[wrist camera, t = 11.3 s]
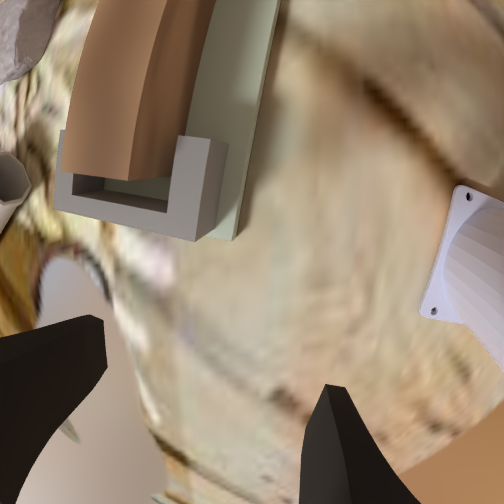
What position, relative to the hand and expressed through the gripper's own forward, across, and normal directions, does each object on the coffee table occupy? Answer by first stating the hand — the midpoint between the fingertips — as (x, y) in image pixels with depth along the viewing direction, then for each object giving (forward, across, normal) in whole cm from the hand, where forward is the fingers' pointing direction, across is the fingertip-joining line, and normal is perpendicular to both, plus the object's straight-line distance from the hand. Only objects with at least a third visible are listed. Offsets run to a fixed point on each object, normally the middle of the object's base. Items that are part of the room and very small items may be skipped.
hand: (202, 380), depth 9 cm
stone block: (+10, +26, -16) cm, 33 cm away
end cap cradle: (+9, +7, -16) cm, 20 cm away
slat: (+8, +7, -16) cm, 19 cm away
